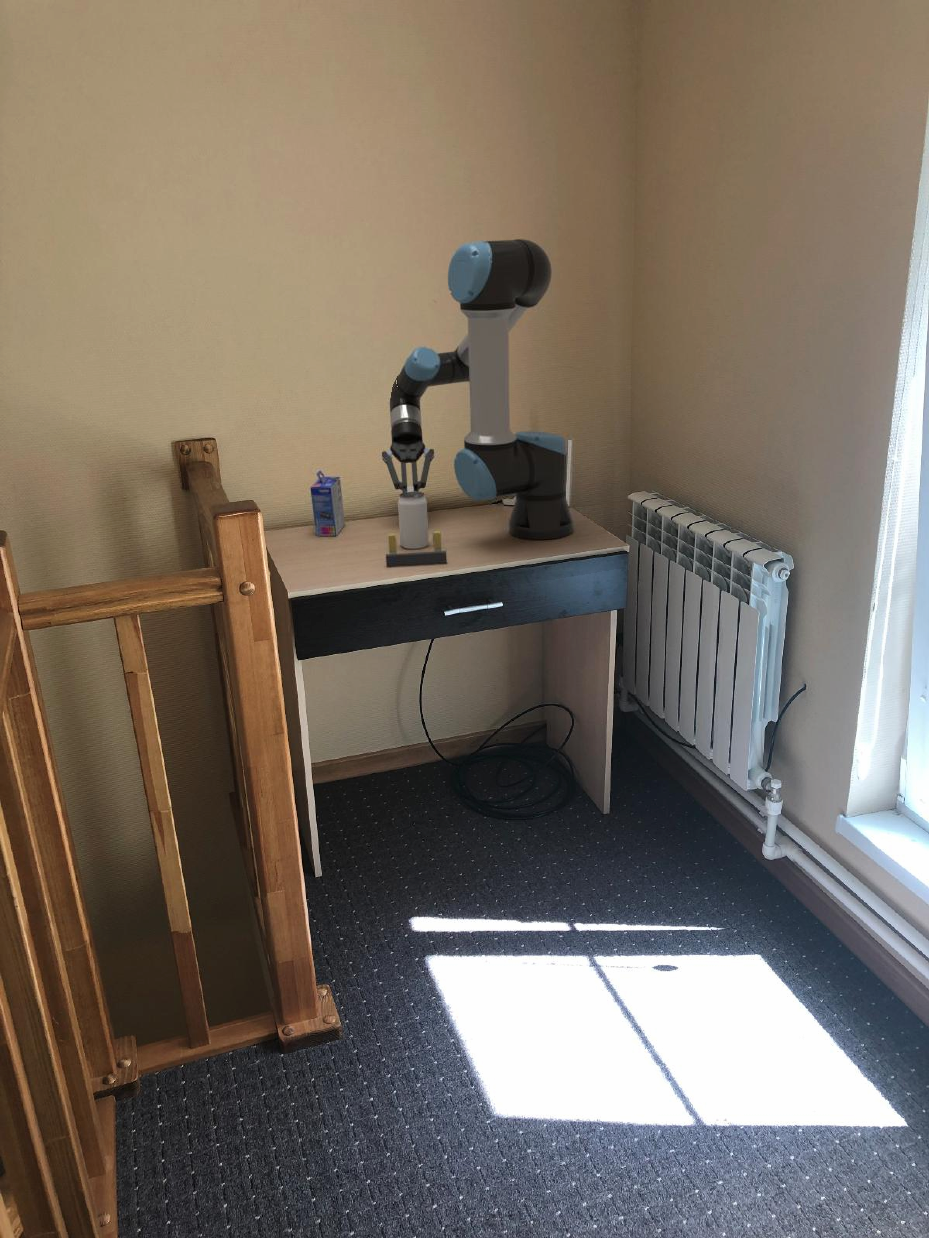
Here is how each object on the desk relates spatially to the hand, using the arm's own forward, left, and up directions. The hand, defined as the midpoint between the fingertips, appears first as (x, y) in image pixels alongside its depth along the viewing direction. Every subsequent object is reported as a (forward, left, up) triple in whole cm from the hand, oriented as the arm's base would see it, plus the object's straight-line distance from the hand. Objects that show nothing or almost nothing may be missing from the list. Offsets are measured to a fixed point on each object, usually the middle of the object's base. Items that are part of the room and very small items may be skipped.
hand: (411, 512), depth 242 cm
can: (0, +10, -5) cm, 11 cm away
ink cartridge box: (+20, -6, -5) cm, 22 cm away
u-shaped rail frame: (0, +14, -5) cm, 15 cm away
